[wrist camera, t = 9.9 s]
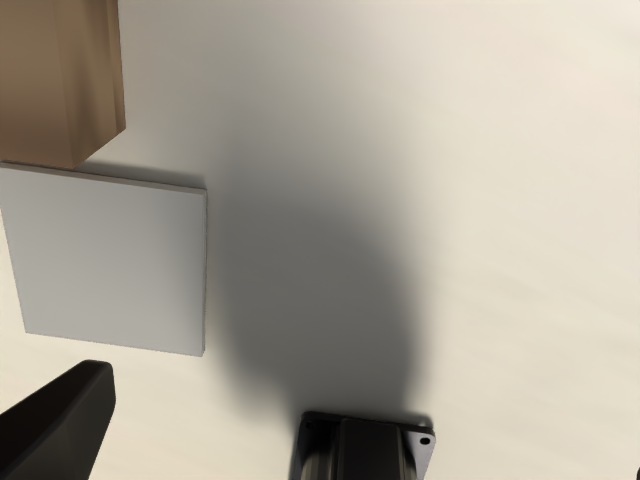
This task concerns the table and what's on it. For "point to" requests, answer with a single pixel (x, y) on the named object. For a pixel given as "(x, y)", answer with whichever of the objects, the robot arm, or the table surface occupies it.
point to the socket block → (59, 80)
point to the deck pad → (107, 258)
